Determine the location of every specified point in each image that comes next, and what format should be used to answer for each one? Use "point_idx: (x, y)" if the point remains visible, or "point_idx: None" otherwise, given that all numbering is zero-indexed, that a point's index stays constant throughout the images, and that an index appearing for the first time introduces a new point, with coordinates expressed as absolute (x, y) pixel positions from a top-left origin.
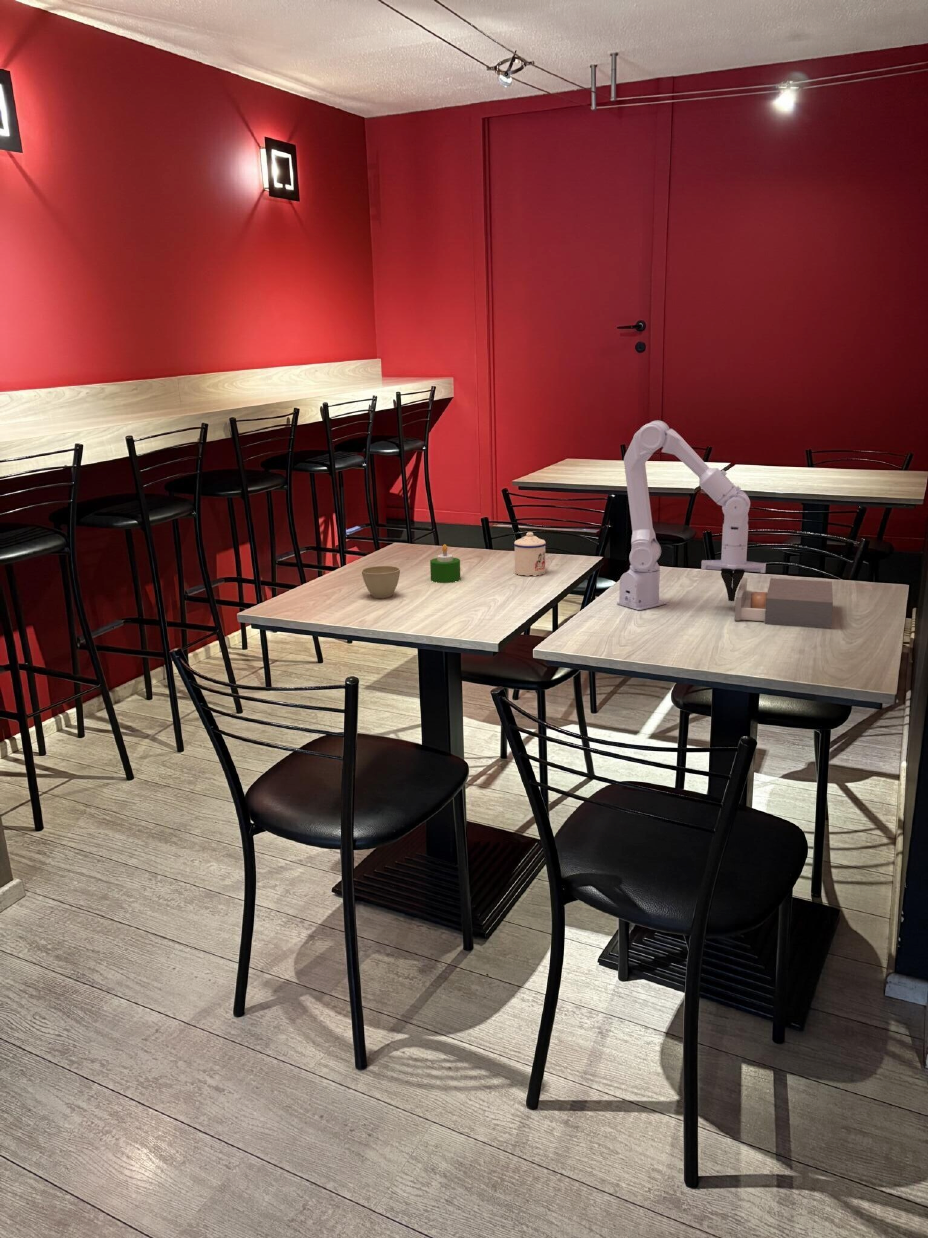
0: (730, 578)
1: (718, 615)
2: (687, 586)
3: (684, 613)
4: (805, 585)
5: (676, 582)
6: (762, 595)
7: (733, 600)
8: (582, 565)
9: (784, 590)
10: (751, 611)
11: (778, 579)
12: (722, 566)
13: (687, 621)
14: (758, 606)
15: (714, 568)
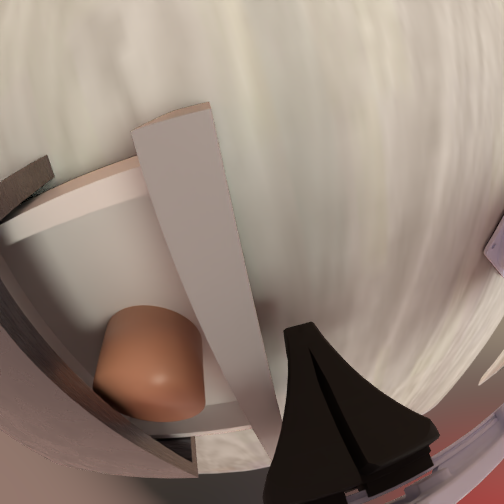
0: (361, 439)
1: (327, 191)
2: (401, 393)
3: (454, 166)
4: (60, 451)
5: (414, 394)
6: (137, 391)
7: (286, 331)
8: (494, 363)
9: (38, 414)
10: (98, 177)
11: (168, 475)
12: (456, 484)
13: (431, 37)
14: (141, 324)
15: (462, 443)
